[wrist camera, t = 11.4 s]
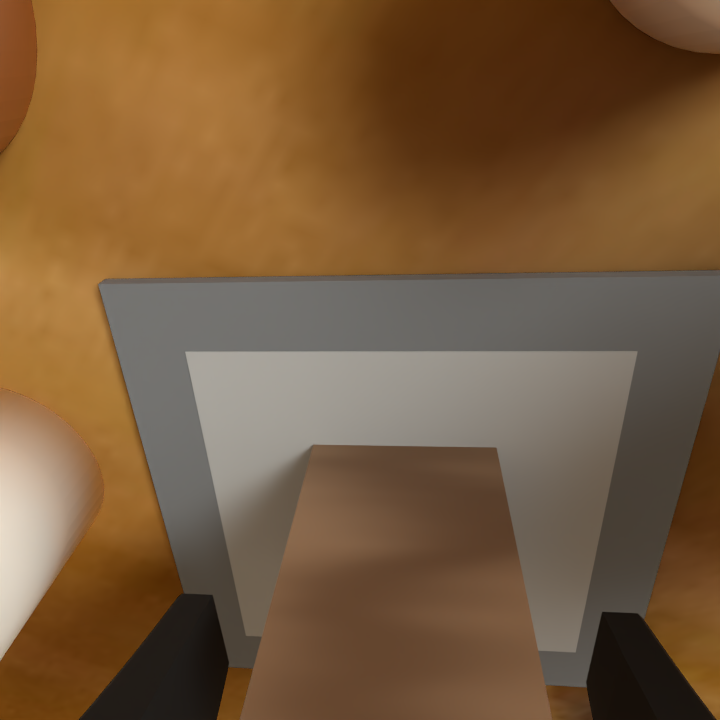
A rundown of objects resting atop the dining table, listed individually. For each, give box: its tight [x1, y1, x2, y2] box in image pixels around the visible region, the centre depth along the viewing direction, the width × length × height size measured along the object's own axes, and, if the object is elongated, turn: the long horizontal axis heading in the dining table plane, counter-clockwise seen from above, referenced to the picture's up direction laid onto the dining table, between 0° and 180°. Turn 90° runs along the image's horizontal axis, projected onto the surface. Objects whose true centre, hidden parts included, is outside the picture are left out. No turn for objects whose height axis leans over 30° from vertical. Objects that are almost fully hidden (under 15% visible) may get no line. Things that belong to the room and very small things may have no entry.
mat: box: [98, 270, 720, 687], centre depth 14 cm, size 12×12×1 cm
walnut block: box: [240, 445, 552, 720], centre depth 11 cm, size 4×4×6 cm
